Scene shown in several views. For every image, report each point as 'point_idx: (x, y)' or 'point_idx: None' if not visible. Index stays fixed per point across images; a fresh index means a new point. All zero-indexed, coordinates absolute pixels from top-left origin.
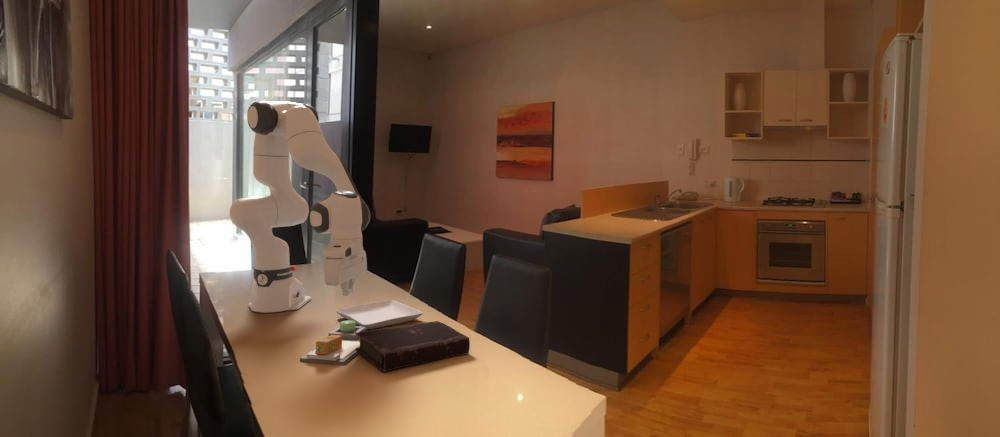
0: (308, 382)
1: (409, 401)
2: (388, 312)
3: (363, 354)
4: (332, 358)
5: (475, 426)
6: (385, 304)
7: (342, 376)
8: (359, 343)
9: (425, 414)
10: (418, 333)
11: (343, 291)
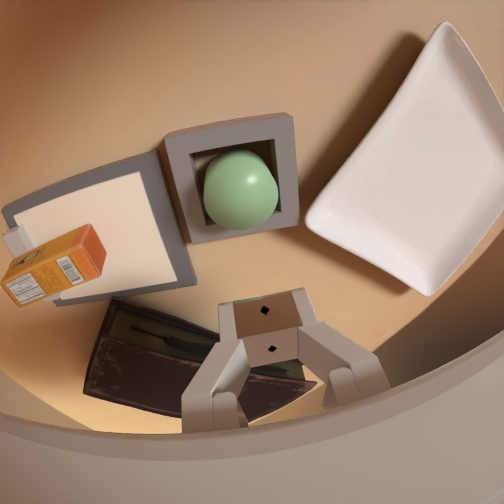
0: None
1: (68, 396)
2: (475, 181)
3: (103, 326)
4: None
5: (85, 424)
6: None
7: (35, 323)
8: (160, 276)
9: (66, 406)
10: None
11: (222, 331)
